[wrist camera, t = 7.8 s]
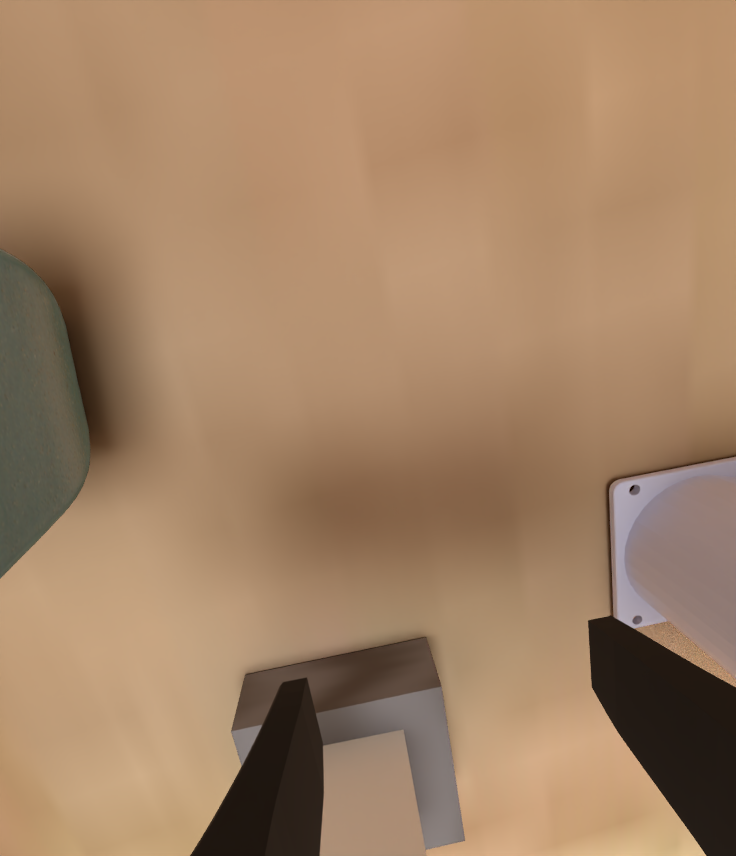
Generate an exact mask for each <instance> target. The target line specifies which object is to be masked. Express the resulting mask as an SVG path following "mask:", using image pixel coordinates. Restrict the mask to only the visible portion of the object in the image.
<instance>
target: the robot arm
mask: <svg viewBox="0 0 736 856" xmlns="http://www.w3.org/2000/svg"><path fill="white" fill-rule="evenodd" d="M633 485H634V489H633V490H632V491H631V492H629V490H630V488H631V486H633ZM609 502H610V530H611V558H612V587H613V615H614V617H613V616H608V617H603V618H598V619H593V620H588V627H589V645H590V663H591V680H592V688H593V690H594V692H595V693H596V695H597V697H598V699H599V701H600V702H601V704H602V706H603V708H604V709H605V711H606V713H607V715H608V716H609V718H610V720H611V721H612V723H613V725H614V726H615V728H616V730H617V731H618V733H619V734H620V736H621V737H622V738H623V740H624V741H625V743H626V744H627V746H628V747H629V748H630V750H631V751H632V753H633V754H634V755H635V757H636V758H637V760H638V761H639V762H640V764H641V765H642V767H643V768H644V769H645V771H646V772H647V773H648V775H649V776H650V778H651V779H652V780H653V782H654V783H655V784H656V786H657V787H658V789H659V790H660V791H661V793H662V794H663V795H664V797H665V798H666V800H667V801H668V802H669V804H670V805H671V806H672V808H673V809H674V811H675V812H676V813H677V815H678V816H679V818H680V819H681V820H682V822H683V823H684V824H685V826H686V827H687V829H688V830H689V831H690V833H691V834H692V835H693V837H694V838H695V840H696V841H697V843H698V844H699V845H700V847H701V848H702V850H703V851H704V853H705V854H706V856H736V687H734V686H732V685H730V684H728V683H727V682H725V681H723V680H721V679H719V678H717V677H716V676H714V675H712V674H710V673H708V672H707V671H705V670H703V669H701V668H700V667H698V666H696V665H694V664H693V663H691V662H689V661H687V660H686V659H684V658H682V657H681V656H679V655H677V654H675V653H674V652H672V651H670V650H669V649H667V648H665V647H664V646H662V645H660V644H659V643H657V642H655V641H653V640H652V639H650V638H648V637H647V636H645V635H643V634H642V633H640V632H638V631H637V630H635V629H633V628H638V627H643V626H648V625H652V624H657V623H662V622H667V621H669V622H670V623H671V624H672V625H673V626H675V627H676V628H677V629H678V630H679V631H680V632H682V633H683V634H684V635H685V636H686V637H687V638H689V639H690V640H691V641H692V642H693V643H694V644H696V645H697V646H698V647H699V648H700V649H701V650H702V651H704V652H705V653H706V654H707V655H708V656H709V657H711V658H712V659H713V660H714V661H715V662H716V663H718V664H719V665H720V666H721V667H722V668H723V669H725V670H726V671H727V672H728V673H729V674H730V675H732V676H733V677H734V678H735V679H736V457H732V458H726V459H721V460H716V461H711V462H706V463H701V464H696V465H690V466H685V467H680V468H675V469H670V470H665V471H660V472H654V473H649V474H644V475H639V476H634V477H629V478H624V479H619V480H616V481H614V482H613V483H612V484H611V486H610V489H609ZM635 616H636V617H635ZM634 617H635V618H634ZM633 618H634V619H633ZM323 800H324V766H323V741H322V737H321V733H320V729H319V725H318V721H317V716H316V712H315V708H314V704H313V700H312V696H311V692H310V688H309V684H308V679H307V677H306V678H301V679H296V680H291V681H286V682H283V683H282V684H281V685H280V686H279V688H278V691H277V693H276V696H275V698H274V700H273V702H272V705H271V707H270V709H269V712H268V714H267V716H266V718H265V720H264V722H263V725H262V727H261V729H260V731H259V733H258V735H257V737H256V739H255V741H254V743H253V745H252V747H251V749H250V751H249V753H248V755H247V757H246V759H245V761H244V763H243V765H242V767H241V769H240V771H239V773H238V775H237V777H236V778H235V780H234V782H233V784H232V786H231V787H230V789H229V791H228V793H227V795H226V796H225V798H224V800H223V802H222V804H221V805H220V807H219V809H218V811H217V812H216V814H215V816H214V818H213V819H212V821H211V823H210V825H209V826H208V828H207V830H206V831H205V833H204V834H203V836H202V838H201V839H200V841H199V843H198V844H197V846H196V847H195V849H194V851H193V852H192V854H191V855H190V856H320V843H321V829H322V815H323Z"/></svg>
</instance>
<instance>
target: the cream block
mask: <svg viewBox="0 0 736 856" xmlns="http://www.w3.org/2000/svg"><path fill="white" fill-rule="evenodd" d="M323 766H324V800H323V815H322V829H321V843H320V856H426V850H425V845H424V839H423V834H422V828H421V823H420V817H419V812H418V807H417V801H416V796H415V790H414V785H413V779H412V774H411V768H410V763H409V757H408V752H407V746H406V741H405V735H404V730H398V731H393V732H388V733H383V734H378V735H374V736H369V737H364V738H359V739H354V740H349V741H344V742H339V743H334V744H329V745H324V746H323Z"/></svg>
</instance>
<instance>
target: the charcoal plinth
mask: <svg viewBox="0 0 736 856" xmlns="http://www.w3.org/2000/svg"><path fill="white" fill-rule="evenodd" d="M306 677H307V679H308V684H309V688H310V692H311V696H312V700H313V704H314V708H315V712H316V716H317V721H318V725H319V729H320V733H321V737H322V741H323V746H324V745H329V744H334V743H339V742H344V741H349V740H354V739H359V738H364V737H369V736H374V735H378V734H383V733H388V732H393V731H398V730H404V735H405V741H406V746H407V752H408V757H409V763H410V768H411V774H412V779H413V785H414V790H415V796H416V801H417V807H418V812H419V817H420V823H421V828H422V834H423V839H424V845H425V850H427V849H431V848H435V847H440V846H444V845H448V844H453V843H457V842H461V841H465V837H464V830H463V824H462V817H461V811H460V804H459V798H458V791H457V785H456V778H455V771H454V765H453V758H452V752H451V745H450V739H449V732H448V726H447V719H446V713H445V706H444V700H443V693H442V687H441V683H440V680H439V677H438V674H437V670H436V667H435V664H434V661H433V658H432V654H431V651H430V648H429V645H428V642H427V638H426V637H425V638H421V639H416V640H411V641H406V642H401V643H397V644H392V645H387V646H382V647H377V648H372V649H368V650H363V651H358V652H353V653H348V654H344V655H339V656H334V657H329V658H324V659H320V660H315V661H310V662H305V663H300V664H295V665H291V666H286V667H281V668H276V669H271V670H267V671H262V672H257V673H252V674H247V675H245V677H244V681H243V686H242V690H241V694H240V698H239V702H238V706H237V710H236V714H235V718H234V722H233V726H232V730H231V732H232V736H233V739H234V742H235V746H236V749H237V752H238V755H239V759H240V762H241V765H243V763H244V761H245V759H246V757H247V755H248V753H249V751H250V749H251V747H252V745H253V743H254V741H255V739H256V737H257V735H258V733H259V731H260V729H261V727H262V725H263V722H264V720H265V718H266V716H267V714H268V712H269V709H270V707H271V705H272V702H273V700H274V698H275V696H276V693H277V691H278V688H279V686H280V685H281V684H282V683H283V682H286V681H291V680H296V679H301V678H306Z"/></svg>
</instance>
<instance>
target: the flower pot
mask: <svg viewBox="0 0 736 856" xmlns="http://www.w3.org/2000/svg"><path fill="white" fill-rule="evenodd" d="M89 463H90V439H89V428H88V424H87V420H86V415H85V411H84V406H83V402H82V398H81V393H80V389H79V385H78V380H77V376H76V371H75V366H74V362H73V357H72V353H71V348H70V343H69V338H68V333H67V329H66V325H65V322H64V319H63V316H62V313H61V310H60V308H59V306H58V303H57V301H56V299H55V297H54V295H53V294H52V292H51V291H50V289H49V288H48V286H47V285H46V284H45V282H44V281H43V280H42V279H41V278H40V277H39V276H38V275H37V274H36V273H35V272H34V271H33V270H32V269H31V268H30V267H28V266H27V265H26V264H25V263H23V262H22V261H20V260H19V259H17V258H16V257H15V256H13V255H11V254H9V253H7V252H6V251H4V250H2V249H0V578H1V577H2V576H3V575H4V574H5V573H6V572H7V571H8V570H9V569H10V568H11V567H12V566H13V565H14V564H15V563H16V562H17V561H18V560H19V559H20V558H21V557H22V556H23V555H24V554H25V553H26V552H27V551H28V550H29V549H30V548H31V547H32V546H33V545H34V544H35V543H36V542H37V541H38V540H39V539H40V538H41V537H42V536H43V535H44V534H45V533H46V532H47V531H48V529H49V528H50V527H51V526H52V525H53V524H54V523H55V522H56V521H57V520H58V519H59V518H60V517H61V516H62V514H63V513H64V512H65V511H66V510H67V509H68V508H69V506H70V505H71V504H72V503H73V501H74V500H75V499H76V497H77V495H78V494H79V492H80V490H81V488H82V486H83V484H84V482H85V479H86V476H87V473H88V469H89Z"/></svg>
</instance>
